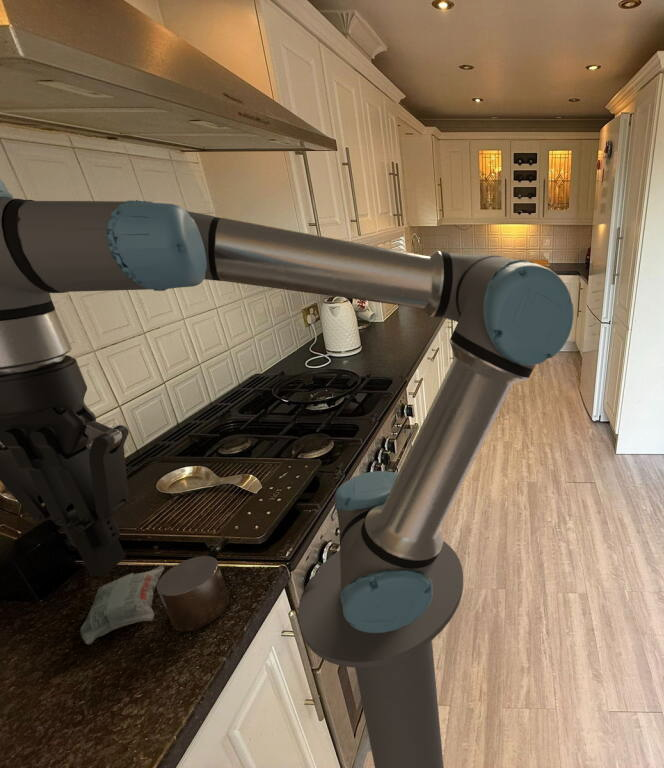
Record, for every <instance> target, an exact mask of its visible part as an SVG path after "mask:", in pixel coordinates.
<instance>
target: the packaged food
mask: <svg viewBox="0 0 664 768" xmlns="http://www.w3.org/2000/svg"><path fill="white" fill-rule="evenodd" d="M164 570H165V566H164V565H160V566H157V567H156V568H153V569H151V570H149V571H144V572H139V573H135V572H131V573H129V574H126V575H123V576H121V577H120V578H117V579H115V580H112V581H111V582H108V583H106V584H103V585H102V586H100V587H99V588H98V589H97V592H96V595H95V598H94V601H93V603H92V605H91V607H90V610H89V612H88V615H87V617H86V619H85V620H84V622H83V623H82V625H81V626H80V637H81V639H82V640H83V642H84V643H85V644H86V645H91V644H92V643H94V642H95V640H96V639H97V638H99V637H103V636H104V635H107V634H108V633H110V632H112V631H114V630H117V629H120V628H123V627H126V626H129V625H133V624H135V623H136V624H137V623H142V622H150V621H153V620H154V619H155V612H154V610H153V608H152V604H153V599H154V592H155V590H156V589H157V584H158V582H159V580H160V578H161V576H162V574H163V572H164Z"/></svg>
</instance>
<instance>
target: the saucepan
mask: <svg viewBox="0 0 664 768" xmlns="http://www.w3.org/2000/svg"><path fill="white" fill-rule="evenodd" d="M229 541H230V540H229V537H228V536H227V535H223V536H222V537H220V538H219V540H218V541H217V542H216V544H215V545H214V546H213V548H212V549H211V550H210V552H209V553H208V554H207V555H200V556H195V557H192V558H189V559H186V560H184V561H180V562H179V563H178V564H176V565H174V566H172V567H171V568H170V569H168V570H167V571H166V572H165V573H164V574H163V575H161V576H160V578H159V580H158V583H157V585H156V589H157V590H156V591H157V593H158V595H159V598H160V600H161V602H162V605H163V607H164V610H165V612H166V614H167V617H168V619H169V621H170V623H171V626H172V628H173V629H174V630H176V631H178V632H182V633H185V632H186V633H187V632H193V631H196V630H199V629H201V628H204V627H207V626H208V625H210V624H211V623H212V622H214V621H215V620H217V619H218V618H219V617H221V615H222V614H223V613H224V612H225V611H226V609H227V608H228V606H229V604H230V595H229V592H228V589H227V585H226V583H225V580H224V577H223V574H222V571H221V568H220V565H219V563H218V560H217V557H218V556H219V555H220V554H221V552H222V550H223V549H224V548H225V546H226V545H227V544H228V542H229Z"/></svg>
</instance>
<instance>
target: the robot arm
mask: <svg viewBox="0 0 664 768" xmlns="http://www.w3.org/2000/svg"><path fill="white" fill-rule="evenodd" d="M13 195H14V194H12V193H10V191H9V189H8V188H7V186H6V184H5V183H4V181H3V180H2V179H0V483H2V484H3V486H4V487H5V488H6V490H7V491H8V492H9V493H10V494H11V495H12V496H13V498H15V499H14V500H16V501H17V503H19V504H20V506H21V507H22V508H23V509H24V511H25V512H26V514H28V515H29V517H30V518H31V519H32V520H33V521H35V522H44V521H46V520H48V521H49V520H50V521H52V522H53V524H55V525H56V526H58V527H62V530H63V531H64V534H65V535H66V537H67V539H68V542H69V544H70V545H71V546H72V547H74V548H76V549H77V551H78V554H79V556H80V558H81V560H82V562H83V564H84V566H85V569H86V570H87V572H88V575H89V576H90V577H101V576H102V577H104V576H107V574H109V573H110V572H111V571H112V570H113V569H114V568H115V567H116V566H117V565H119V564H120V562H121V561H123V560H124V559H125V558H126V553H125V551H124V549H123V547H122V544H121V542H120V540H119V538H120V537H121V532H120V530H119V527H118V525H117V523H116V520H115V518H114V515H116V513H118V512H119V511H121V510H122V509H123V508H124V507H126V506H127V505H128V504H130V494H129V485H128V476H127V474H128V473H127V465H126V456H125V444H126V441H127V439H128V436H129V433H130V431H129V429H128V427H126V426H125V425H123V424H119V425H116V426H114V427H110V426H108V425H106V424H104V423H101V422H99V421H97V417H96V415H95V413H94V412H93V411H92V410H91V409H90V408H89V407H88V406H87V405H86V403H85V396H86V394H87V391H88V385H87V383H86V381H85V379H84V376H83V373H82V371H81V368H80V367H79V363H78V361H77V359H76V358H74V357H73V356H71V355H67V354H69V353H70V352H71V351H72V349H73V347H72V345H71V343H70V340H69V338H68V336H67V333H66V331H65V329H64V327H63V325H62V322H61V319H60V317H59V315H58V313H57V310H56V307H55V305H54V302H53V300H52V296H51V294H65V293H73V292H75V293H76V292H109V291H111V292H112V291H113V292H114V291H143V290H144V291H145V290H146V291H147V290H153V291H154V292H165V291H167V290H171V289H180V288H192V287H197V286H198V285H200V284H202V283H203V282H204V280H206V281H215V282H216V281H218V282H225V283H226V282H228V283H234V284H242V285H247V286H256V287H263V288H271V289H278V290H285V291H293V292H298V293H299V292H300V293H307V294H314V295H321V296H322V295H323V296H329V297H336V298H344V299H351V300H359V301H365V302H372V303H373V302H374V303H380V304H389V305H395V306H402V307H410V308H416V309H417V308H418V309H422V310H423V311H424V312H425V313H426V315H427V316H429V317H434V318H442V319H447V320H450V321H453V322H455V323H456V325H455V328H454V330H453V332H452V333H451V336H450V338H449V344H450V347H451V349H452V354H453V359H452V362H451V364H450V366H449V367H448V370H447V372H446V374H445V376H444V378H443V380H442V382H441V385H440V387H439V388H438V390H437V393H436V395H435V396H434V399H433V401H432V403H431V404H430V405H431V406H430V408H429V410H428V411H427V413H426V416H425V418H424V420H423V422H422V424H421V426H420V429H418V430H419V431H418V433H417V435H416V436H415V439H414V441H413V443H412V444H411V448H410V450H409V451H408V453H407V456H406V458H405V460H404V461H403V464H402V466H401V468H400V470H399V472H397V473H396V472H394V471H388V470H378V471H369V472H364V473H361V474H358V475H355V476H352V477H351V478H349V479H348V480H346V481H344V482H342V483H341V485H339V487H338V488H337V489H336V491H335V493H334V509H335V510H336V514H337V521H338V534H339V535H338V537H339V538H338V539H339V550H340V569H341V589H340V593H341V595H340V601H341V603H342V607H343V614H344V617H345V619H346V621H348V622H349V623H350V625H351V626H352V627H354V628H355V629H357V630H360V631H363V632H368V633H384V632H389V631H393V630H397V629H399V628H401V627H403V626H406V625H408V624H410V623H412V622H413V621H415V620H416V619H418V618H419V617H420V616H421V615H422V614H423V613H424V612H425V611H426V609H427V608H428V607H429V605H430V603H431V600H432V596H433V591H432V588H433V584H432V581H431V579H430V578H429V574H430V570H431V568H432V566H433V564H434V562H435V560H436V559H437V557H438V555H439V553H440V551H441V548H442V545H443V541H444V537H443V535H442V532H441V530H440V529H441V527H442V525H443V523H444V521H445V519H446V517H447V515H448V513H449V511H450V510H451V507H452V506H453V503H454V501H455V499H456V498H457V495H458V493H459V492H460V489H461V487H462V486H463V484H464V482H465V480H466V477H467V476H468V474H469V471H470V470H471V468H472V466H473V464H474V462H475V460H476V458H477V457H478V454H479V452H480V450H481V448H482V446H483V444H484V442H485V440H486V438H487V437H488V435H489V432H490V430H491V429H492V426H493V424H494V423H495V420H496V418H497V417H498V414H499V413H500V411H501V409H502V407H503V404H505V403H504V402H505V401H506V399H507V397H508V395H509V393H510V391H511V389H512V387H513V386H514V385H517V384H519V383H522V382H525V381H528V380H529V379H530V377H531V375H532V373H533V371H534V369H535V367H536V365H541V364H543V363H545V362H546V360H548V359H553V358H554V357H555V356H556V355H558V354H559V353H560V351H562V349H563V348H564V346H565V345H566V344H567V342H568V340H569V337H570V334H571V332H572V328H573V323H574V317H575V316H574V315H575V313H574V312H575V311H574V304H573V301H572V297H571V293H570V291H569V288H568V286H567V285H566V283H565V282H564V281H563V279H562V277H560V276H559V275H558V274H557V273H556V272H554V271H553V270H552V269H550V268H548V267H545V266H543V265H541V264H538V263H536V262H534V261H532V260H529V259H515V258H510V257H506V256H502V255H501V256H500V255H495V254H494V255H492V254H465V253H464V254H463V253H452V252H446V251H441V250H435V251H433V252H432V253H431V254H429V255H424V254H418V253H413V252H408V251H402V250H397V249H392V248H386V247H381V246H375V245H371V244H365V243H360V242H354V241H349V240H345V239H339V238H333V237H329V236H328V237H327V236H322V235H318V234H313V233H312V234H311V233H306V232H302V231H295V230H291V229H285V228H279V227H275V226H269V225H263V224H258V223H253V222H248V221H243V220H237V219H231V218H227V217H219V216H214V215H210V214H204V213H199V212H194V211H189V210H187V209H185V208H183V207H181V206H180V205H177V204H174V203H166V202H165V203H164V202H163V203H162V202H153V201H148V200H138V199H136V200H126V201H125V200H124V201H122V200H121V201H120V200H119V201H118V200H116V201H115V200H112V201H111V200H34V199H22V198H16V197H15V198H13V197H14V196H13ZM42 504H44V505H42Z"/></svg>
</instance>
